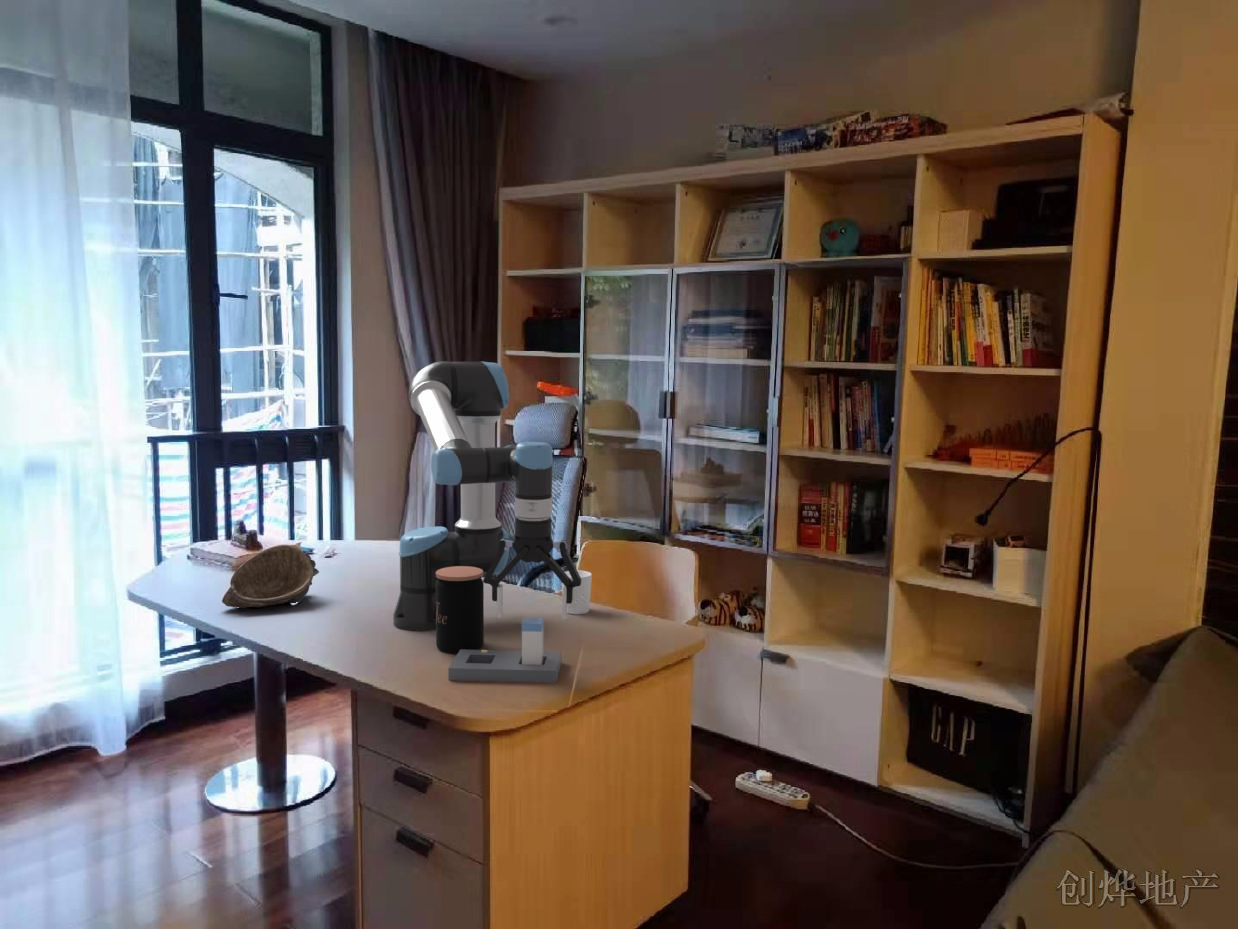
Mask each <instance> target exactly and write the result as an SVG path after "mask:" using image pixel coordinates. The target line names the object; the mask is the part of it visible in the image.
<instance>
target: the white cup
mask: <svg viewBox="0 0 1238 929" xmlns="http://www.w3.org/2000/svg"><path fill="white" fill-rule="evenodd" d="M577 571H578V574H579V576H580V578H581V580H582V581H581V585H580V586H576V587H574V588H573V600H572V602H571V604H568V603H567V615H568V614H569V615H583V614H588V613H589V611H590V601H591V592H592V576H593V574H592V573H591V572H590V571H587V570H586V571H585V570H579V569H578V570H577ZM564 572H565V573H566V575H567V576H568V577H569V578H570V579H571V580H573V579H572V577H571V575H570V573H569V571H568V570H566V571H564ZM564 586H565V585H564V584H563V583H562V582H561V593H562V596H563V587H564Z"/></svg>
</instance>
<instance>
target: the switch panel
mask: <svg viewBox="0 0 1238 929" xmlns="http://www.w3.org/2000/svg"><path fill="white" fill-rule="evenodd" d="M561 666H562V651H544V650H543V665H524V664H522V650H503V649H501V650H499V649H498V650H497V649H479V650H465V649H460V651H459V652H458V654H456V655H455V657H454V658H453V660H452V662H451V663H450V665H449V667H448V668H447V670H448V671H447V672H448V675H447V676H448V681H463V682H464V681H469V682H506V683H507V682H508V683H509V682H510V683H539V684H540V683H541V684H542V683H546V684H549V683H550V684H555V683H557V680H558V678H559V674H560V673H559V672H560V669H561Z"/></svg>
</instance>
